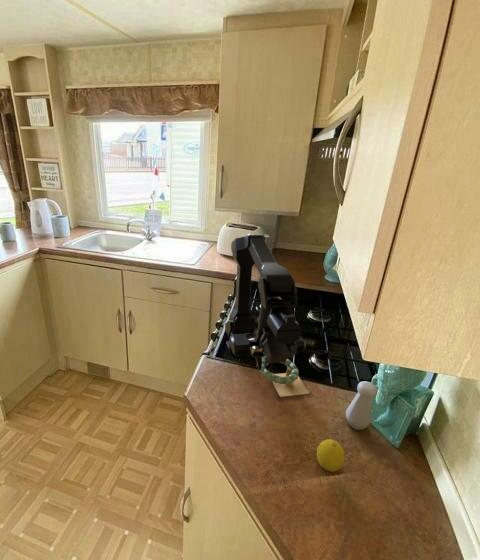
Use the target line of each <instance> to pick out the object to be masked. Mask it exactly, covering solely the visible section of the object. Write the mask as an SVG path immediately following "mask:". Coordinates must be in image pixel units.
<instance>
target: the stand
mask: <svg viewBox="0 0 480 560" xmlns="http://www.w3.org/2000/svg"><path fill="white" fill-rule="evenodd" d="M273 374H274V375H277V376H280V377H287V376H289V375H291V370H290V368H289V367H287V366H286V372H283V373H273ZM271 382H272V384H273V386H274V388H275V390H276V392H277V394H278V396H279V397H280V398H284V397H295V396H304V395H305V396H306V395H310V394H311V393H310V391H309V389H308V388H307V387H306V385H305V384H304V382H303V381H302V379H301V377H300V376H299V375H298V379H297V380H295V381H294V382H292V383H290V384H279V383H276V382H273V381H271Z"/></svg>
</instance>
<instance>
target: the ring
mask: <svg viewBox="0 0 480 560" xmlns="http://www.w3.org/2000/svg"><path fill="white" fill-rule="evenodd" d="M265 361H266V355H264V356H263V357H262V366H261V370H259V372H260V374H261V375H262V376H263V377H265V378H266V379H267V380H268V381H271V382H272V381H273V382H276V383H279V384H290V383H292V382H294V381H295V380H297V379H298V376H299V373H300V372H299V369H298V368H297V366H296V364H295V363H294V362H293V361H291V360H290V358H287V360H286V362H283V363H282V362H279V363H281V364H283V365H284V366H286V368H287V367H289V368H290V370H291V375H289V376H287V377H280V376H277V375H274V374H275V373H272V372H271V371H270V370H269V369H266V367H265Z"/></svg>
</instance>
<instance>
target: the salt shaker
mask: <svg viewBox="0 0 480 560" xmlns="http://www.w3.org/2000/svg"><path fill="white" fill-rule="evenodd" d="M356 389H357V390H356V391H357V393H356V395H355V396H354V397H353V399H352V401H351V402H350V404H349V405H348V407H347V409H346V410H345V418H346V421H347V424H348V426H350V427H351V428H353V429H354V430H355V431H356V430H357V431H358V430H359V431H362V430H365V429H366V428H368V427H369V426H370V424H371V418H372V408H373V407H372V406H373V399H374V398H376V396H377V395H378V388H377V387H376V385H375V384H373V382H370V381H366V380H365V381H360V382H358V384H357V388H356Z"/></svg>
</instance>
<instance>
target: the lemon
mask: <svg viewBox="0 0 480 560" xmlns="http://www.w3.org/2000/svg"><path fill="white" fill-rule="evenodd" d="M345 455H346V454H345V451H344V448H343V446H342V445H341V443H339V441H337V440H334V439H332V438H331V439H330V438H327V439H324V440H323V441H321V442H320V444H319V445H318V447H317V449H316V458H317V462H318V464H319V465H320V467H322V469H324V470H326V471H328V472H330V473H331V472H332V473H333V472H337V471H339V470H341V468H342V467H343V466H344V464H345Z"/></svg>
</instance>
